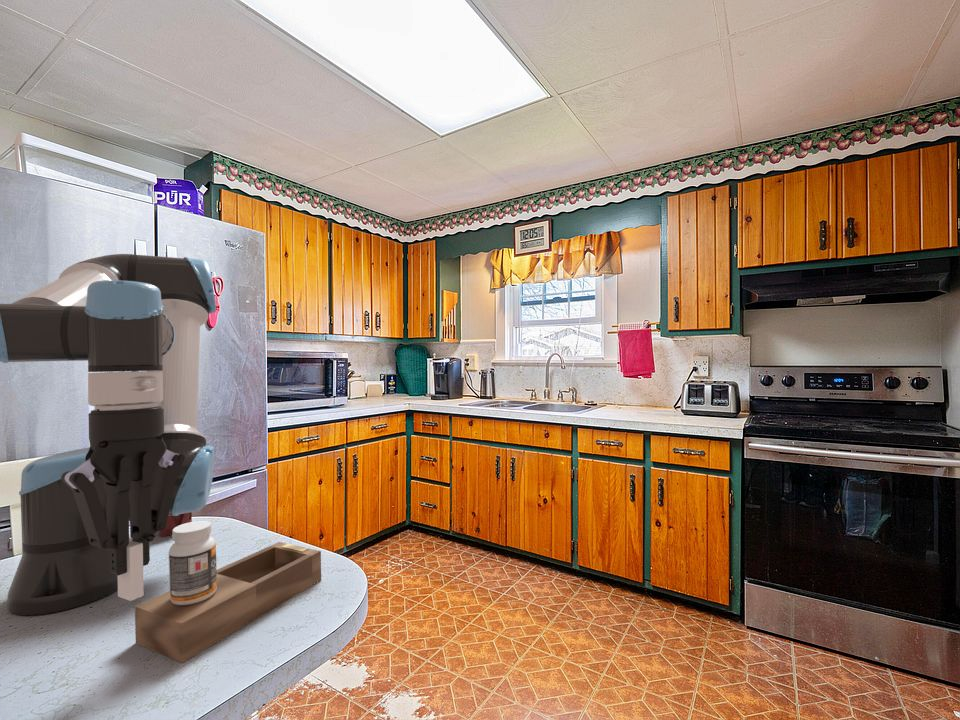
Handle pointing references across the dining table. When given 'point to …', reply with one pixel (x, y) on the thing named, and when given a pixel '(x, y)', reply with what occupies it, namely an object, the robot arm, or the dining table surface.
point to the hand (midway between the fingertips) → (130, 595)
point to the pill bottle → (192, 563)
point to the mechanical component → (175, 523)
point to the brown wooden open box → (227, 601)
